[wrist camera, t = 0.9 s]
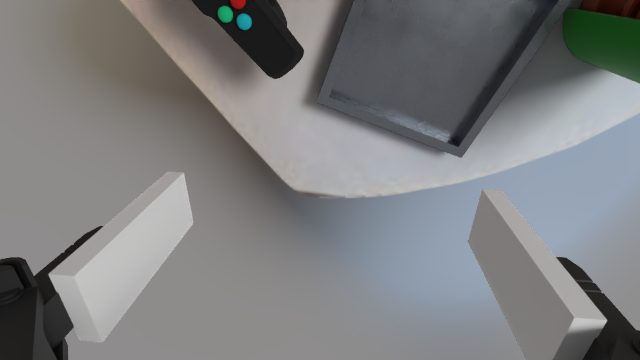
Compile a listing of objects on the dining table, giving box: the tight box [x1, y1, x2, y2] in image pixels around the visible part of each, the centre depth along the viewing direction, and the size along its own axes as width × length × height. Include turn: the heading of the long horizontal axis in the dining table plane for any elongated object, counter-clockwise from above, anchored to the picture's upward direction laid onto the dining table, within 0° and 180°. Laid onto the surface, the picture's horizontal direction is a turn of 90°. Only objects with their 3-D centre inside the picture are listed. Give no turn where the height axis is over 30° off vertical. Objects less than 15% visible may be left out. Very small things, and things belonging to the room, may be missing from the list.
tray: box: [317, 0, 572, 158], centre depth 32 cm, size 17×17×2 cm
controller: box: [192, 0, 304, 79], centre depth 28 cm, size 4×12×10 cm, turn 41°
